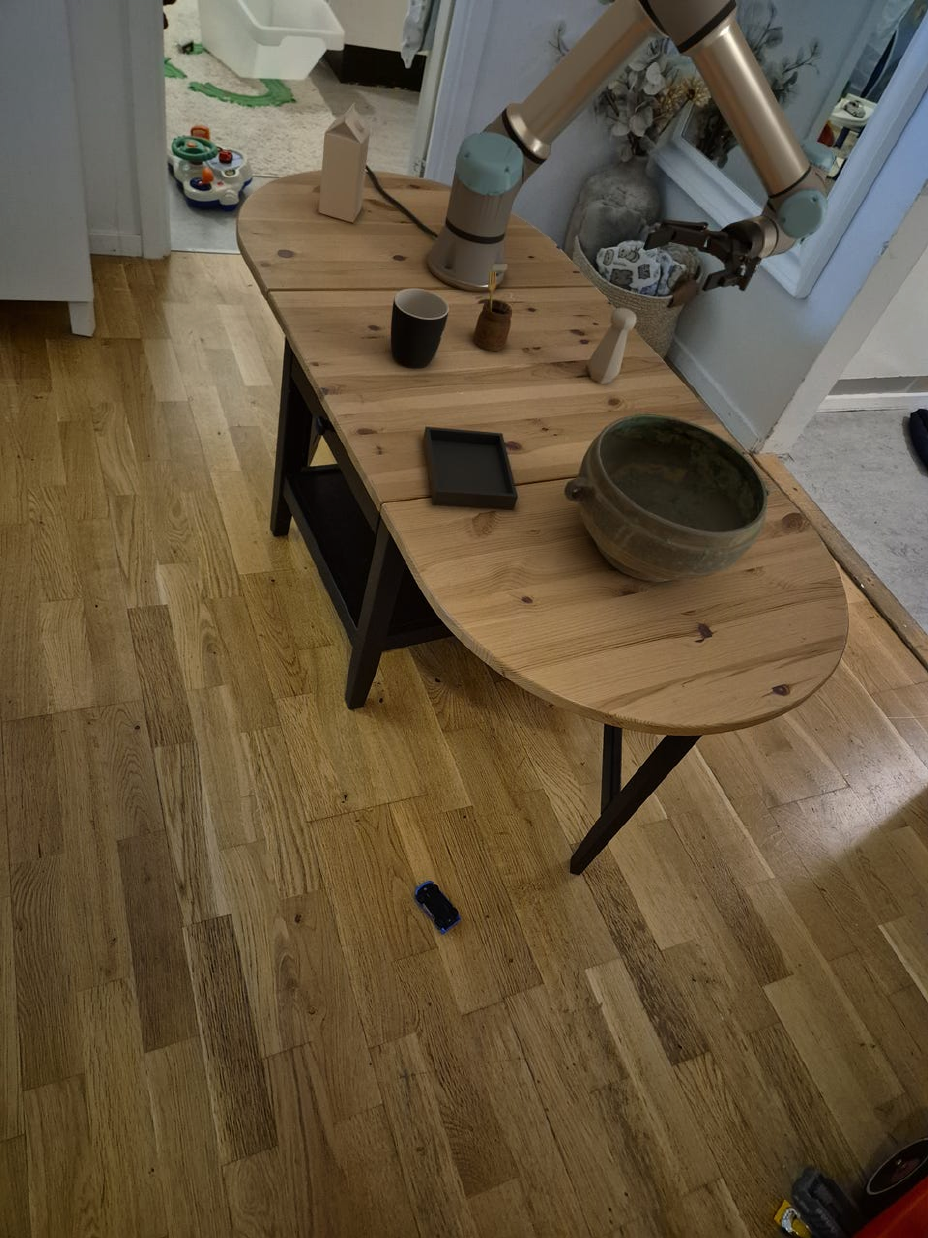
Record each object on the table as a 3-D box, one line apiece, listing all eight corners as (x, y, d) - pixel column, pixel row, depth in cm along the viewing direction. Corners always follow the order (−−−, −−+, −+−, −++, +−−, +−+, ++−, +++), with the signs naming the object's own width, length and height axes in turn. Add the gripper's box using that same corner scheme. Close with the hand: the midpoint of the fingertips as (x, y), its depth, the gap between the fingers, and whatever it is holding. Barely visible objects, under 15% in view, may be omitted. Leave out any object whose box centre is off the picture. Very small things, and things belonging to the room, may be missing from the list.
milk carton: (318, 213, 160) (325, 108, 145) (327, 199, 164) (336, 96, 150) (352, 223, 160) (363, 120, 146) (361, 209, 165) (372, 107, 150)
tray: (422, 439, 123) (425, 426, 121) (498, 446, 126) (502, 433, 124) (432, 504, 114) (435, 491, 112) (513, 509, 117) (518, 496, 115)
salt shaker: (578, 373, 144) (603, 307, 134) (596, 363, 147) (622, 299, 137) (603, 390, 142) (630, 325, 132) (621, 380, 145) (648, 316, 135)
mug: (442, 374, 135) (455, 320, 127) (391, 372, 132) (400, 317, 124) (426, 333, 141) (437, 279, 134) (377, 330, 138) (385, 275, 131)
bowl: (700, 485, 131) (744, 411, 119) (770, 609, 116) (828, 538, 104) (517, 484, 121) (546, 403, 110) (568, 619, 106) (608, 542, 95)
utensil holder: (488, 355, 141) (505, 292, 132) (465, 336, 143) (480, 273, 134) (511, 347, 144) (529, 285, 135) (488, 328, 147) (504, 266, 137)
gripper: (788, 296, 144) (722, 321, 133) (685, 228, 153) (615, 246, 142) (810, 256, 138) (744, 279, 127) (702, 188, 148) (631, 204, 136)
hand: (676, 262), depth 134 cm, fingers open, 13 cm apart
